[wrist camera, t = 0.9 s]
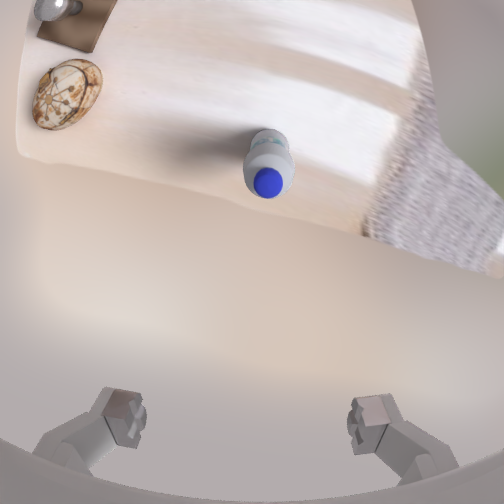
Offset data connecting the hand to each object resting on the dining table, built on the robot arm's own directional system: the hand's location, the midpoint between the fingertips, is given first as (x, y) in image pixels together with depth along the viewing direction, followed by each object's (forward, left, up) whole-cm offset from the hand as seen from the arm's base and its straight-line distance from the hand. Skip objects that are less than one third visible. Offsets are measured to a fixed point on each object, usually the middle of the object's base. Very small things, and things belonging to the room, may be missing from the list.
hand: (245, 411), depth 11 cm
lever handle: (-11, -44, -41) cm, 61 cm away
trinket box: (+9, -37, -47) cm, 61 cm away
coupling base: (-8, -44, -47) cm, 65 cm away
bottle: (+1, +1, -47) cm, 47 cm away
